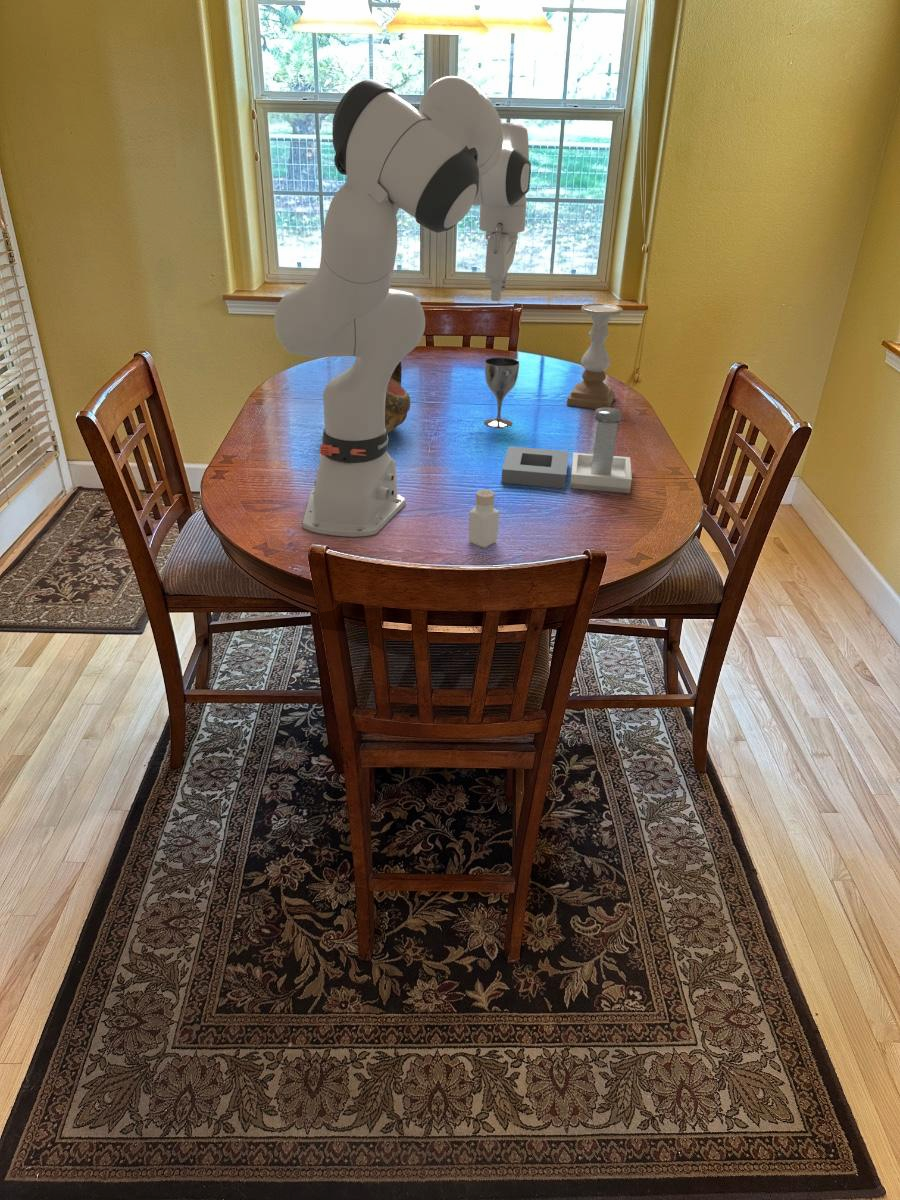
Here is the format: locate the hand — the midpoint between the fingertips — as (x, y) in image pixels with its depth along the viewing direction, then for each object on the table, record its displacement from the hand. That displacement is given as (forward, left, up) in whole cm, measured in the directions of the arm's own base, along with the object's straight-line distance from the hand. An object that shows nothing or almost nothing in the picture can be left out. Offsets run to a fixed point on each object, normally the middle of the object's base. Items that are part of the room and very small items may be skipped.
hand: (498, 295), depth 162 cm
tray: (-11, -24, -33) cm, 43 cm away
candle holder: (+40, -22, -33) cm, 56 cm away
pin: (-11, -24, -32) cm, 42 cm away
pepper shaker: (-44, -4, -33) cm, 55 cm away
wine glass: (+18, 0, -33) cm, 38 cm away
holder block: (-11, -11, -33) cm, 37 cm away
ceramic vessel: (+3, +28, -33) cm, 44 cm away
